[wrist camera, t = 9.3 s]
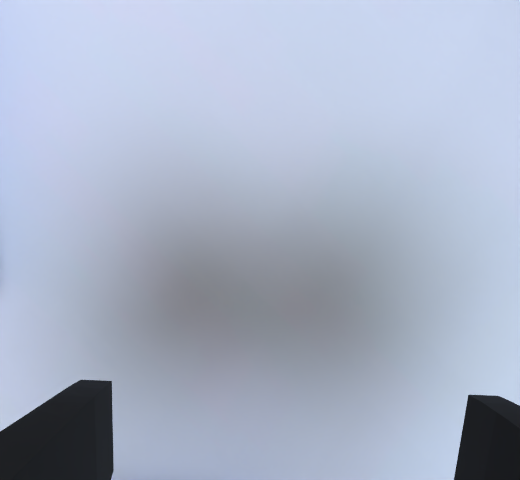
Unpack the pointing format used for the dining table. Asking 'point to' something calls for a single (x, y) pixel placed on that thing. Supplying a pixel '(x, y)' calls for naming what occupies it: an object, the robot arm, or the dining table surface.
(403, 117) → the dining table surface
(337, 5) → the dining table surface
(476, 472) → the robot arm
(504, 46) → the dining table surface
